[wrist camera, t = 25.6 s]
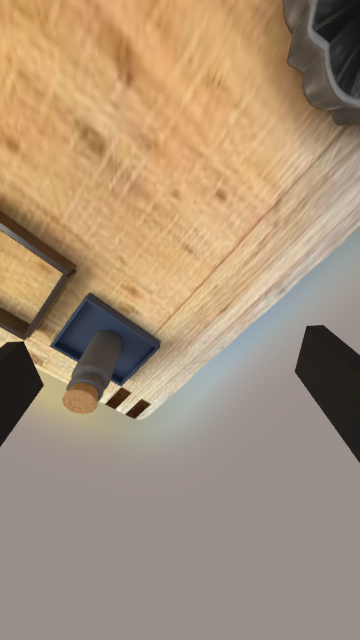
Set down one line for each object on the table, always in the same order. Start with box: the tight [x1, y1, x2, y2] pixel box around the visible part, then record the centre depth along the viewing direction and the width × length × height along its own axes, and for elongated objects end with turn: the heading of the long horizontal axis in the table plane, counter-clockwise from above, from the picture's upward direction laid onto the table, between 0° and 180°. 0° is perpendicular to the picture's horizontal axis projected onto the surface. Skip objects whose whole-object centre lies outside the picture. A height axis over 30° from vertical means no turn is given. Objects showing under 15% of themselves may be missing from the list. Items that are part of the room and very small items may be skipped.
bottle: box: [62, 330, 123, 414], centre depth 37 cm, size 6×6×15 cm
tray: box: [50, 293, 161, 386], centre depth 43 cm, size 16×13×2 cm
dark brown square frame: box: [0, 211, 77, 340], centre depth 36 cm, size 17×17×3 cm
